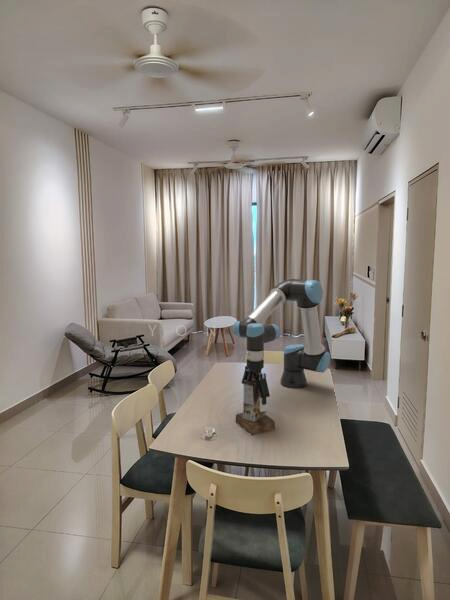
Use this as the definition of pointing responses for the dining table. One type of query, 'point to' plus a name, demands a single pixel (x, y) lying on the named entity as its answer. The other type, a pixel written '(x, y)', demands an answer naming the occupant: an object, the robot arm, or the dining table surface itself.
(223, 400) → the dining table surface
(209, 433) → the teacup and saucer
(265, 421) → the walnut base
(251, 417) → the coffee box
